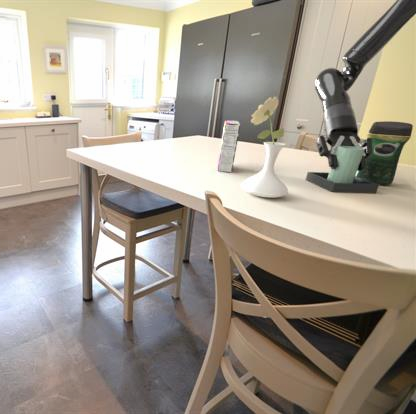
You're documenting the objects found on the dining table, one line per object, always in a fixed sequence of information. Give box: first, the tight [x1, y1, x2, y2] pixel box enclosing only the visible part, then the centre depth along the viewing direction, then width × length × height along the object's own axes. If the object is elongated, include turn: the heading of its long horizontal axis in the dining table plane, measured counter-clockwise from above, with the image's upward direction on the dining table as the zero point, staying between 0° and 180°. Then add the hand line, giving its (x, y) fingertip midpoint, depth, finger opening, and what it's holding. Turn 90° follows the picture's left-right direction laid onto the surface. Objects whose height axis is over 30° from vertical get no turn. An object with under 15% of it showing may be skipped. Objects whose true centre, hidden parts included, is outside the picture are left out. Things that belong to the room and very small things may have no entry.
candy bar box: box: [217, 120, 241, 173], centre depth 100 cm, size 11×5×16 cm, turn 159°
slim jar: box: [327, 146, 365, 183], centre depth 83 cm, size 6×6×11 cm
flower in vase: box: [240, 95, 289, 199], centre depth 73 cm, size 13×11×25 cm
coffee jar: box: [355, 120, 414, 186], centre depth 87 cm, size 10×8×19 cm
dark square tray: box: [305, 171, 380, 194], centre depth 85 cm, size 12×12×3 cm
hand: (347, 168), depth 82 cm, fingers closed on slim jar, 6 cm apart
